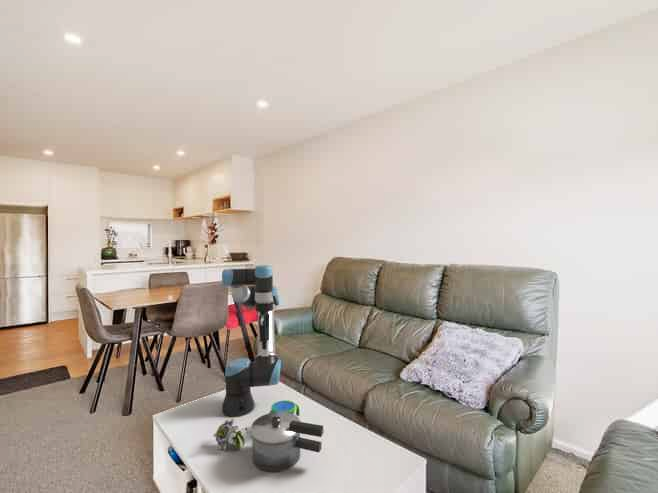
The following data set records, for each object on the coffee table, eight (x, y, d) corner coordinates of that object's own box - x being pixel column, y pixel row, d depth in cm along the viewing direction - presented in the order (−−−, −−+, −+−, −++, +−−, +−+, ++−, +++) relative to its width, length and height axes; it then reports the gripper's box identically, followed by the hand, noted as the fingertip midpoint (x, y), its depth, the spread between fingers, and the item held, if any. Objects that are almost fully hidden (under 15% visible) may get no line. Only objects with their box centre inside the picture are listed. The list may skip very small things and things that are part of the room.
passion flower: (221, 462, 132) (205, 435, 134) (241, 442, 141) (226, 418, 143) (236, 456, 126) (219, 428, 128) (255, 436, 135) (239, 410, 137)
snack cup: (294, 417, 154) (293, 396, 154) (305, 428, 145) (305, 405, 145) (262, 428, 145) (261, 405, 145) (271, 441, 137) (271, 416, 136)
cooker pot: (268, 437, 139) (267, 414, 139) (328, 451, 130) (328, 426, 129) (242, 465, 122) (242, 438, 122) (310, 484, 113) (310, 455, 112)
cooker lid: (241, 439, 121) (240, 428, 121) (265, 413, 139) (265, 403, 139) (313, 453, 113) (313, 441, 112) (329, 423, 131) (329, 413, 130)
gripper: (270, 304, 137) (270, 361, 138) (275, 298, 150) (276, 350, 151) (251, 304, 137) (252, 361, 138) (258, 298, 150) (259, 350, 151)
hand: (264, 355), depth 144 cm, fingers closed
